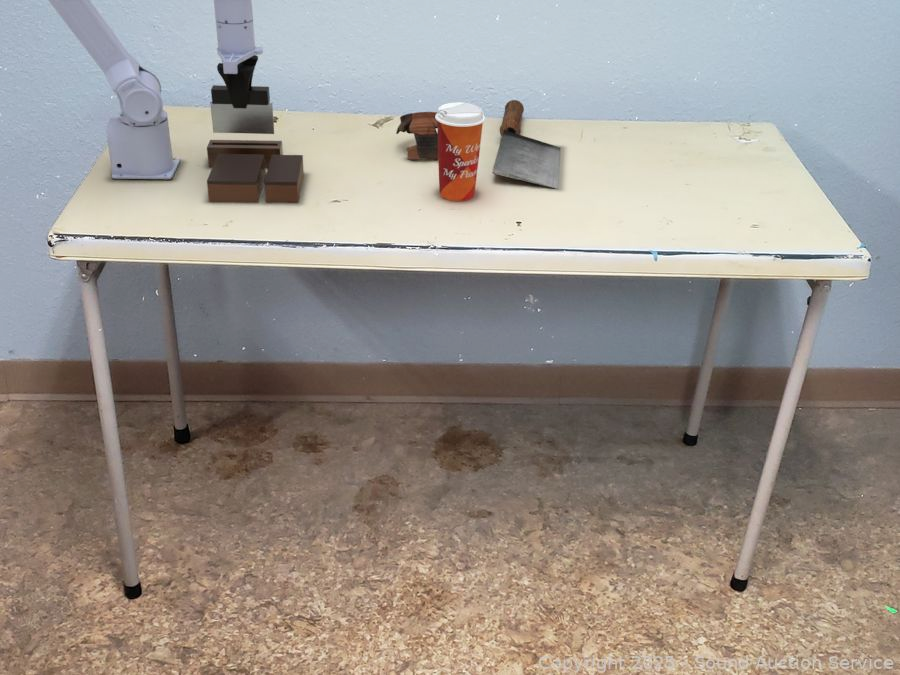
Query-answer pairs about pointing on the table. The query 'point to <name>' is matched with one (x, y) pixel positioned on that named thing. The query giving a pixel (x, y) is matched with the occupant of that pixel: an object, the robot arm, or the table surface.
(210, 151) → the knife block
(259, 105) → the bench scraper
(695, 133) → the table surface
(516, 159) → the meat cleaver
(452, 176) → the paper cup
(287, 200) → the brown rectangular block
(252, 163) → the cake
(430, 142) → the brown irregular chunky piece
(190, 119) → the table surface
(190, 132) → the table surface
